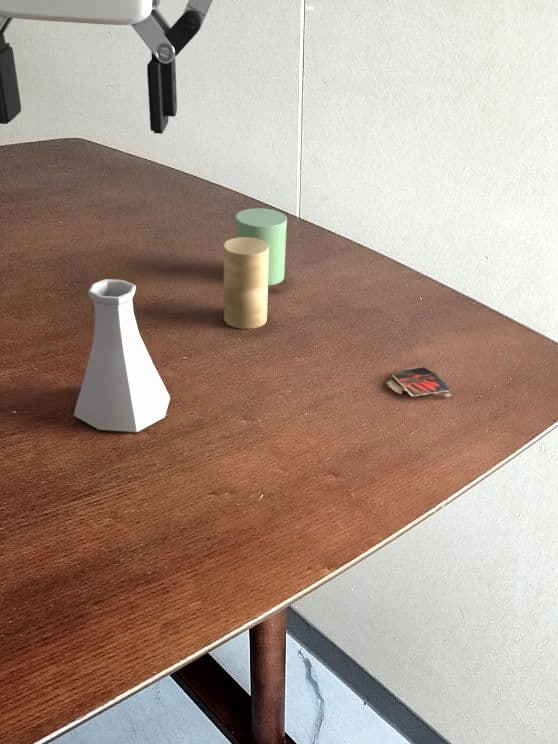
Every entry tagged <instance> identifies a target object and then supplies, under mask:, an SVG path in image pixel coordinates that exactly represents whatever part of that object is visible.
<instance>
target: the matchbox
mask: <svg viewBox="0 0 558 744" xmlns="http://www.w3.org/2000/svg"><path fill="white" fill-rule="evenodd" d="M392 377H393V379H394V380H393V379H390V380H388V381H387V382H386V384H387V386H386V387H389V389H390V388H391V390H392V391H394V392H396V393H397V394H400V395H401V394H403V391H404V392H407V394H408V395H409V396H410V397H418V396H419V397H420V396H427V395H429V394H430V395H431V394H437V395H438V394H439V393H445V392H446V394H443V397H445V398H446V397H447V398H450V397H453V396H456V395H457V393H453V392H452V393H451V392H450V391H452V390H453V389H452V387H451V386H450V385H448V383H447V382H446V381H444V380H443V379H442V378H440V376H439V375H438V374H437V373H436V372H434V371H431V370H429V369H427V368H426V367H425V366H419V365H418V366H417V367H412V368H410V367H409V368H406V369H402V370H400V371H399V372H395V373H394V374H392Z"/></svg>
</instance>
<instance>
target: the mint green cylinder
mask: <svg viewBox="0 0 558 744" xmlns="http://www.w3.org/2000/svg"><path fill="white" fill-rule="evenodd" d="M287 228H288V217H287V215H286V214H284V213H283V212H281V211H278V210H275V209H270V208H263V207H262V208H261V207H260V208H259V207H257V208H256V207H253V208H247V209H243V210H240V211H239V212H237V214H236V215H235V238H239V237H250V238H256V239H260V240H262V241H265V242H266V243H267V244H268V245H269V266H268V287H269V286H274V285H278V284H280V283H282V282H283V281H284V279H285V278H286V277H285V275H286V251H287V231H288V230H287Z"/></svg>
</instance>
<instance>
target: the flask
mask: <svg viewBox="0 0 558 744" xmlns="http://www.w3.org/2000/svg"><path fill="white" fill-rule="evenodd" d="M136 289H137V287H136V285H135V284H133V283H131V282H128V281H127V280H124V279H115V278H114V279H113V278H112V279H111V278H104V279H102V280H99V281H97V282H93V283H92V284H91V285H90V287H89V290H88V291H87V292H88V293H87V295H88V297H89V299H90V300H91V301H92V302H93V307H94V327H93V339H92V340H93V341H92V345H91V349H90V353H89V357H88V361H87V365H86V369H85V373H84V377H83V379H82V384H81V387H80V390H79V394H78V397H77V401H76V405H75V408H74V413H73V417H75V418H77V419H79V420H80V421H83V422H85V423H86V424H88V425H90V426H92V427H93V428H96V429H97V430H100V431H114V432H130V433H138V432H140V431H142V430H144V429H146V428H147V427H149V426H151V425H154V424H155V423H157V422H159V421H160V420H162V419H164V418H165V417H166V415H167V411H168V407H169V404H170V400H171V397H170V394H169V392H168V390H167V388H166V386H165V384H164V382H163V380H162V378H161V376H160V374H159V372H158V370H157V369H156V367H155V364H154V363H153V360H152V358H151V356H150V354H149V352H148V350H147V348H146V345H145V343H144V341H143V339H142V337H141V334H140V332H139V329H138V324H137V319H136V316H135V312H134V304H133V298H134V295H135V293H136Z"/></svg>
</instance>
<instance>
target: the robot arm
mask: <svg viewBox="0 0 558 744" xmlns="http://www.w3.org/2000/svg"><path fill="white" fill-rule="evenodd" d="M213 1H214V0H187V2H186V3H187V4H186V6H185V9H184V10H183V13H182V14H181V15H180V17H179V18H178V19H177V20H176V21H175V22H174V23H173V24H172V26H171V25H170V24H169V22H168V21H167V20H166V18H165V17H164V16H163V14H162V13H161V12H160V10H159V9H158V7H159V5H161V0H0V125H1V124H2V125H8V124H9V123H10V122H12V121H13V120H14V119H15V118H16V117H18V115H19V114H21V112H22V103H21V97H20V90H19V83H18V76H17V69H16V62H15V55H14V49H13V47H12V46H11V45H10V42H6V39H5V33H6V32H7V30H8V28H9V27H10V25H11V24H12V22H13V20H14V19H18V20H19V19H20V20H32V21H44V22H58V23H59V22H60V23H61V22H62V23H75V24H91V25H92V24H93V25H108V26H109V25H111V26H129V25H131V27H132V28H133V30H134V31H135V32H136V33H137V35H138V36H139V37H140V39H141V40H142V41H143V42H144V44H145V45H146V46H147V48H148V49H149V50H150V51H151V59H150V60H149V62H148V63H147V66H146V75H147V90H148V91H147V92H148V109H149V126H150V132H151V131H152V132H153V134H160V135H162V134H164V132H165V130H166V128H167V126H168V125H169V118H170V117H172V118H173V117H176V115H177V111H178V96H177V71H176V69H177V68H176V67H177V65H176V57H177V56H178V55H179V54H180V52H182V50H183V49H184V48H185V47H186V46H187V45H188V44H189V43H190V42H191V41H192V39H193V38H194V37H195V36H196V35H198V32H199V31H200V30H201V28H202V26H203V24H204V22H205V19H206V17H207V15H208V13H209V11H210V8H211V7H212V5H213Z"/></svg>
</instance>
